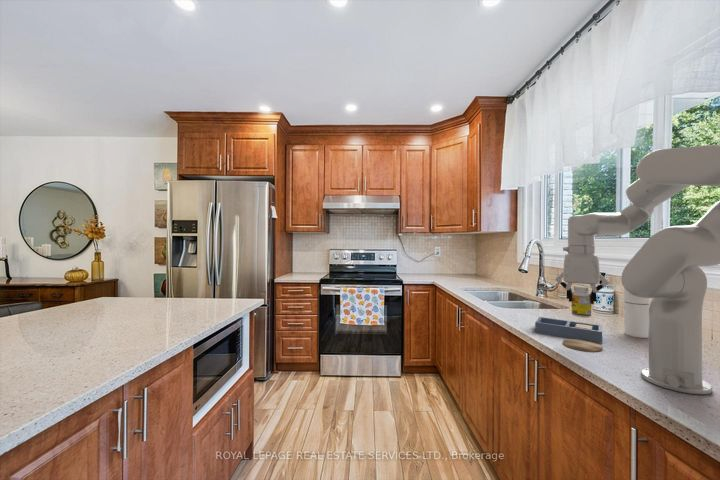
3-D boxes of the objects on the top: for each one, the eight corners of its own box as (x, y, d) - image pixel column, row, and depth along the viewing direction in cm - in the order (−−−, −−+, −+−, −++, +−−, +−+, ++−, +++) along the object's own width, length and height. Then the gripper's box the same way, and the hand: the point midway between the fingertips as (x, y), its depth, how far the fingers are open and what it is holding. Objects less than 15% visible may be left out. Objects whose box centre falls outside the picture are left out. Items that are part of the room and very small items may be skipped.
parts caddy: (602, 343, 107) (602, 331, 107) (535, 332, 121) (535, 322, 121) (602, 335, 116) (602, 325, 116) (539, 326, 129) (539, 316, 129)
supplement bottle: (570, 313, 108) (570, 285, 108) (589, 315, 106) (589, 286, 106) (572, 317, 103) (572, 287, 103) (593, 318, 101) (592, 288, 101)
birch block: (591, 339, 112) (591, 329, 112) (575, 336, 115) (574, 326, 115) (592, 336, 115) (592, 326, 115) (576, 333, 119) (576, 323, 119)
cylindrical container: (631, 337, 114) (631, 271, 114) (620, 331, 121) (619, 269, 121) (654, 338, 112) (653, 272, 113) (641, 332, 119) (640, 270, 120)
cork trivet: (602, 354, 97) (602, 352, 97) (561, 346, 103) (561, 345, 104) (602, 345, 105) (602, 343, 105) (564, 338, 112) (564, 337, 112)
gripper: (550, 250, 107) (550, 301, 107) (613, 251, 96) (613, 307, 96) (553, 250, 113) (553, 297, 113) (612, 250, 102) (613, 303, 102)
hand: (581, 301), depth 105 cm, fingers closed on supplement bottle, 5 cm apart
